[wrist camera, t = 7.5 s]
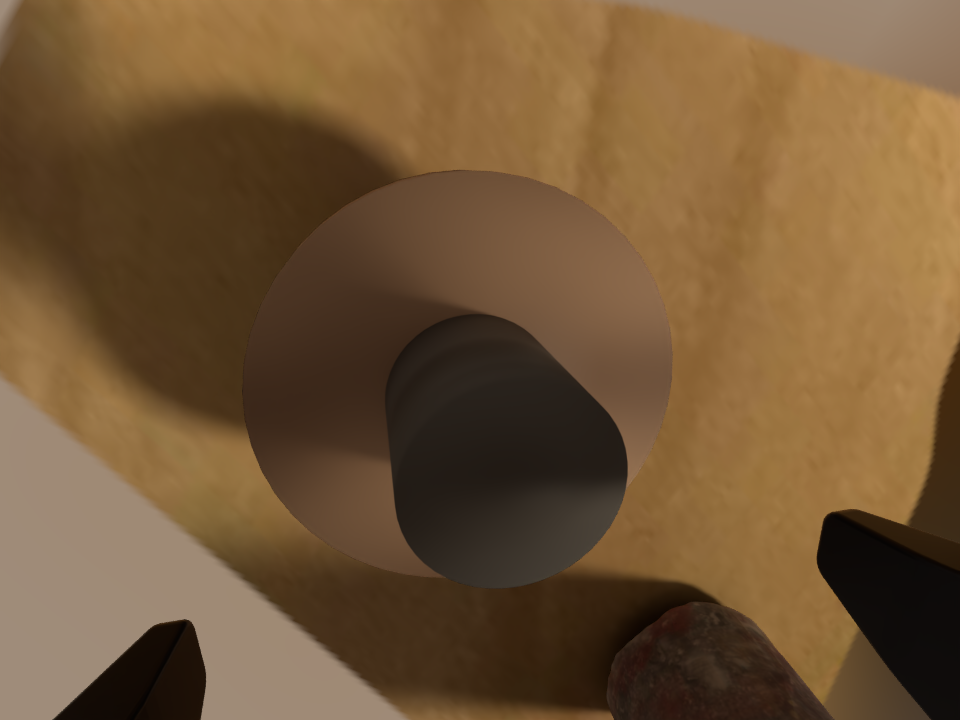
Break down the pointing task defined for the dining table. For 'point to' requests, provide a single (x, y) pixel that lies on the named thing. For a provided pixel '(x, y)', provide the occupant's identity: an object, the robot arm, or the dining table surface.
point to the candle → (707, 671)
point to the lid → (459, 378)
